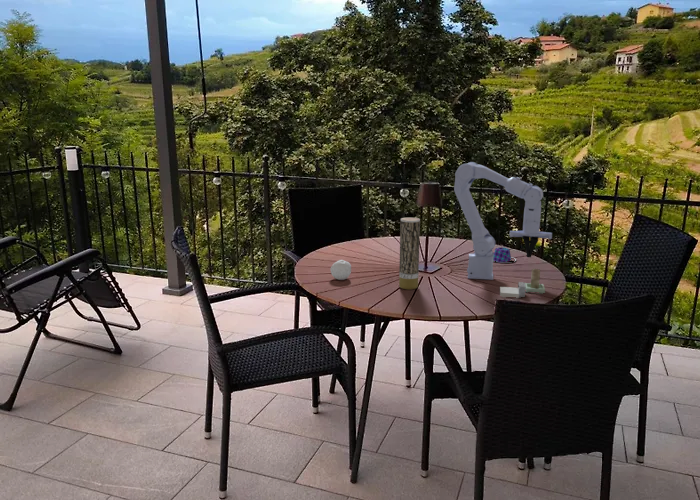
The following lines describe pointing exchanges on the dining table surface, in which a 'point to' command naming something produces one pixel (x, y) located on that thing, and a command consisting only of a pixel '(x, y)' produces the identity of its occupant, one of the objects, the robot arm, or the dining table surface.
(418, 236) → the paper tube
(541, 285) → the tray
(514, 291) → the tile
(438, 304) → the dining table surface
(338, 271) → the white lumpy ball
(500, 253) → the multicoloured piece
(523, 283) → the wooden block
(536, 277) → the dowel
